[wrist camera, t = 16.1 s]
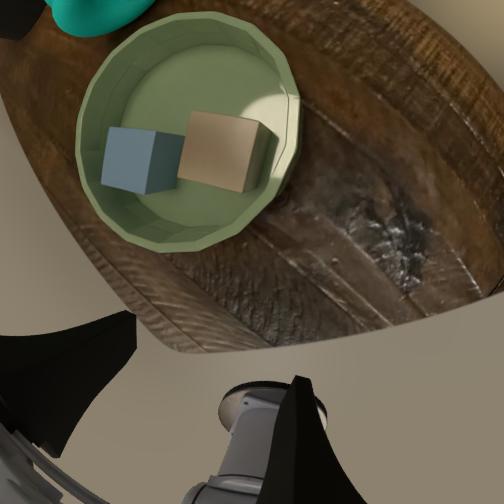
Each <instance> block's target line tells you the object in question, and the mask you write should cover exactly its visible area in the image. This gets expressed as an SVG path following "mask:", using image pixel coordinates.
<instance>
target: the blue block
mask: <svg viewBox="0 0 504 504" xmlns="http://www.w3.org/2000/svg"><path fill="white" fill-rule="evenodd" d="M184 140H185V136H182V135H177V134H171V133H165V132H159V131H151V130H142V129H133V128H122V127H109V132H108V138H107V143H106V149H105V156H104V162H103V170H102V178H101V184H103V185H107V186H111V187H115V188H119V189H123V190H127V191H130V192H134V193H138V194H142V195H148V194H152V193H157V192H161V191H166V190H171V189H175V186H176V181H177V174H178V169H179V163H180V159H181V154H182V149H183V144H184Z"/></svg>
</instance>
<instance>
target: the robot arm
mask: <svg viewBox="0 0 504 504" xmlns="http://www.w3.org/2000/svg"><path fill="white" fill-rule="evenodd" d="M136 337H137V336H136V315H135V314H133V313H131V312H129V311H127V310H124V311H121V312H118V313H116V314H112V315H110V316H107V317H104V318H101V319H98V320H96V321H93V322H90V323H87V324H84V325H80V326H77V327H74V328H70V329H67V330H63V331H58V332H54V333H48V334H41V335H31V336H1V335H0V504H63V503H61V502H60V499H61V498H62V497H63V494H62V493H61V492H60V491H59V490H57V489H56V488H55V487H54V486H52V485H51V484H50V483H49V482H48V481H46V480H45V479H44V478H43V477H42V476H41V475H40V474H39V473H38V472H36V471H35V470H34V468H33V462H34V463H35V464H36V465H37V466H38V467H39V468H40V469H41V470H42V471H43V472H44V473H46V474H47V475H48V476H49V477H50V478H52V479H53V480H54V481H55V482H56V483H58V484H59V485H60V486H61V487H63V488H64V489H65V490H66V491H68V492H69V493H70V494H72V495H73V496H75V497H76V498H77V499H79V500H80V501H81V502H83V503H84V504H110V503H108V502H106V501H105V500H103V499H101V498H100V497H98V496H97V495H95V494H93V493H92V492H90V491H89V490H88V489H86V488H85V487H83V486H82V485H80V484H79V483H78V482H76V481H75V480H74V479H72V478H71V477H69V476H68V475H67V474H65V473H64V472H63V471H62V470H61V469H59V468H58V467H57V466H56V465H54V464H53V463H52V462H51V461H50V460H49V459H47V458H46V457H45V456H44V455H43V454H42V453H41V452H40V451H39V450H37V449H36V448H35V447H34V446H33V445H32V443H34V444H35V445H36V446H37V447H38V448H39V447H41V448H42V449H43V450H44V451H45V452H47V453H48V454H49V455H50V456H51V457H52V458H60V456H61V454H62V452H63V450H64V447H65V445H66V443H67V441H68V439H69V437H70V436H71V434H72V432H73V430H74V428H75V427H76V425H77V423H78V422H79V420H80V419H81V417H82V416H83V414H84V412H85V411H86V410H87V408H88V407H89V405H90V404H91V402H92V401H93V400H94V398H95V397H96V396H97V395H98V393H100V391H101V390H102V389H103V388H104V387H105V386H106V385H107V384H108V383H109V382H110V381H111V380H112V379H113V378H114V377H115V375H116V374H117V373H118V372H119V371H120V370H121V369H122V368H123V367H124V366H125V365H126V363H127V362H128V360H129V359H130V357H131V356H132V355H133V353H134V352H135V350H136V349H137V338H136ZM228 438H229V439H231V441H230V444H229V446H228V449H227V452H226V455H225V457H224V460H223V462H222V465H221V467H220V470H219V472H218V475H217V476H212V475H211V476H210V478H209V480H208V482H207V483H205V482H201V483H199V484H197V485H196V486H194V487H192V488H191V489H190V490H189V491H188V493H187V494H186V496H185V497H184V499H183V501H182V504H367V503H366V502H365V501H364V499H363V498H362V497H361V495H360V494H359V493H358V492H357V490H356V489H355V487H354V486H353V484H352V483H351V482H350V480H349V478H348V477H347V475H346V474H345V472H344V471H343V469H342V467H341V465H340V464H339V462H338V460H337V458H336V456H335V454H334V452H333V449H332V447H331V445H330V442H329V440H328V438H327V435H326V433H325V430H324V427H323V424H322V421H321V418H320V414H319V411H318V408H317V404H316V400H315V396H314V392H313V388H312V383H311V380H310V379H309V378H305V377H301V376H298V375H296V376H295V377H294V379H293V381H292V383H291V385H290V387H289V389H288V391H287V392H286V394H285V396H284V398H283V400H282V402H281V403H280V405H279V404H276V403H272V402H269V401H265V400H262V399H259V398H256V397H252V396H249V395H245V396H244V397H243V399H242V402H241V404H240V407H239V409H238V412H237V414H236V417H235V419H234V422H233V424H232V427H231V429H230V432H229V434H228Z"/></svg>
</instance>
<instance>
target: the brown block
mask: <svg viewBox="0 0 504 504" xmlns="http://www.w3.org/2000/svg"><path fill="white" fill-rule="evenodd" d="M271 134H272V131H271V130H270V129H269V128H268V127H266V126H265V125H264V124H263V123H261V122H260V121H257V120H252V119H247V118H242V117H236V116H231V115H224V114H218V113H211V112H204V111H196V110H192V111H191V115H190V119H189V123H188V127H187V131H186V136H185V140H184V144H183V149H182V154H181V159H180V163H179V169H178V174H177V177H178V178H182V179H186V180H190V181H194V182H198V183H202V184H206V185H210V186H214V187H218V188H222V189H226V190H230V191H234V192H238V193H245V192H247V191H250V190H253V189H256V188H258V185H259V181H260V177H261V173H262V169H263V165H264V161H265V157H266V153H267V149H268V145H269V141H270V137H271Z"/></svg>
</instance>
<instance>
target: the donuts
mask: <svg viewBox="0 0 504 504" xmlns="http://www.w3.org/2000/svg"><path fill="white" fill-rule="evenodd" d="M45 2H46V3H47V4H48V5H49V6H50V7H52V13H53V17H54V20H55V22H56V23H57V25H58V26H59V27H60V28H61V29H62V30H63V31H65V32H66V33H68V34H71V35H74V36H78V37H93V36H99V35H104V34H107V33H110V32H113V31H115V30H118V29H120V28H122V27H124V26H125V25H127V24H129V23H130V22H132V21H133V20H135V19H136V18H138V17H139V16H140V15H142V14H143V13H144V12H145V11H146V10H147V9H148V8H149V7H150V6H151V5H152V4H153V3H154V2H155V0H45Z"/></svg>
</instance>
